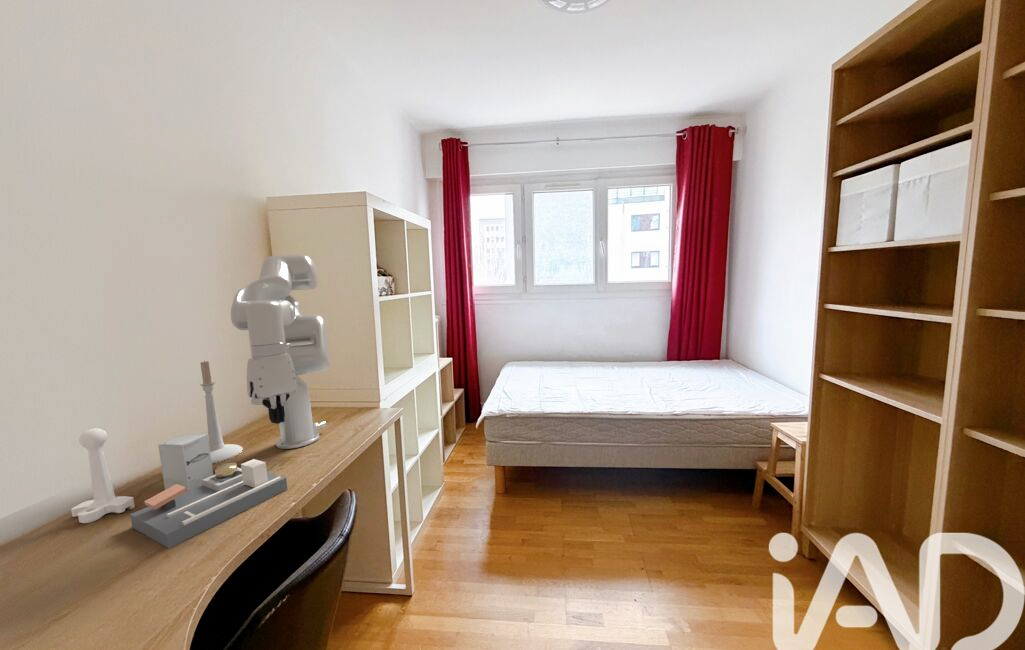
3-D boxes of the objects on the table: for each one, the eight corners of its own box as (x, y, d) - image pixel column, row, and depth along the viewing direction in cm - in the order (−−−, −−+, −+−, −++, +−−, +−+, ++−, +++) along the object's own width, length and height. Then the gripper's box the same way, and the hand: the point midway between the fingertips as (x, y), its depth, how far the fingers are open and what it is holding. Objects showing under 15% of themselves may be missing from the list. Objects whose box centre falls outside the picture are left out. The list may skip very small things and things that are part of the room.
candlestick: (179, 466, 115) (164, 366, 112) (213, 448, 128) (200, 357, 125) (223, 464, 115) (208, 363, 112) (252, 446, 128) (240, 355, 124)
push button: (231, 468, 101) (230, 461, 100) (241, 472, 98) (240, 464, 98) (212, 476, 97) (211, 469, 96) (221, 480, 95) (220, 472, 94)
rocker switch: (178, 487, 91) (176, 483, 90) (187, 491, 89) (185, 487, 88) (145, 505, 86) (144, 501, 85) (154, 509, 83) (153, 505, 83)
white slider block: (256, 478, 98) (253, 458, 97) (268, 482, 96) (265, 462, 95) (243, 483, 95) (240, 464, 95) (255, 488, 93) (252, 467, 92)
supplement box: (187, 493, 99) (180, 445, 98) (164, 491, 101) (156, 444, 99) (215, 478, 106) (208, 433, 105) (192, 477, 108) (186, 432, 106)
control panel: (249, 476, 106) (246, 460, 106) (287, 489, 98) (285, 472, 98) (132, 527, 85) (128, 507, 85) (168, 548, 77) (165, 527, 77)
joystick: (139, 503, 95) (126, 423, 93) (109, 522, 88) (94, 436, 86) (91, 507, 95) (76, 427, 93) (57, 526, 87) (40, 440, 85)
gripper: (288, 345, 106) (296, 411, 108) (227, 355, 93) (237, 430, 95) (306, 346, 103) (314, 414, 105) (245, 356, 90) (255, 434, 92)
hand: (277, 422), depth 100 cm, fingers closed
